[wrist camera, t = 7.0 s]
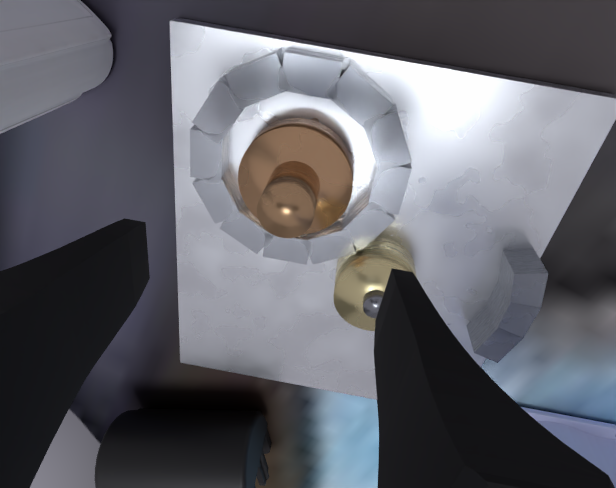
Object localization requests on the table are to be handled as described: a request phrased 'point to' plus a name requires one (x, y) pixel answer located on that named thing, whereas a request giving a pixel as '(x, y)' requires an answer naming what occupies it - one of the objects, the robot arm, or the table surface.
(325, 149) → the gear
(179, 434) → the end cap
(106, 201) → the table surface
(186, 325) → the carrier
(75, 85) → the photo printer
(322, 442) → the table surface
